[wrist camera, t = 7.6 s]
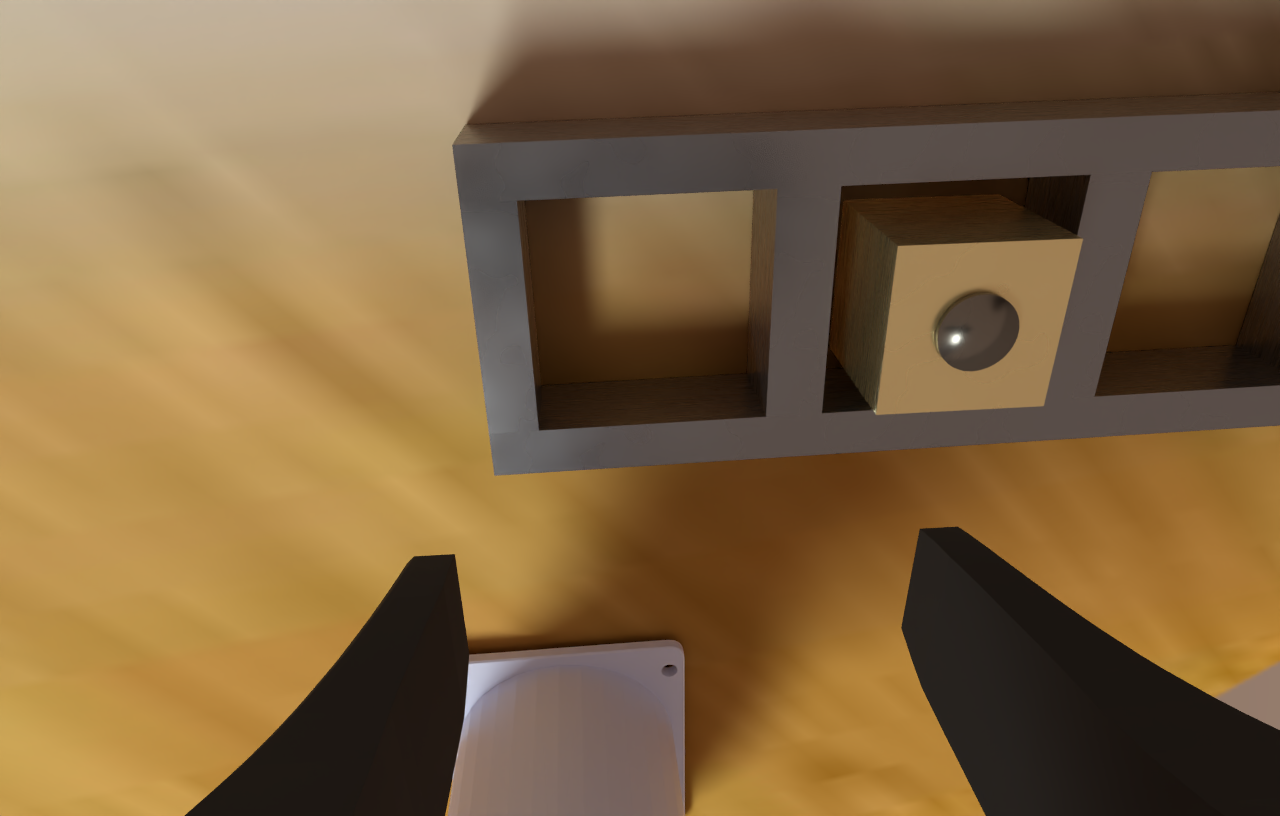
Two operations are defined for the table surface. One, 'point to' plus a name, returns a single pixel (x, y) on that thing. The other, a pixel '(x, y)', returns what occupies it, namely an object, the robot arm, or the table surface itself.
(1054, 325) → the drawer with knob
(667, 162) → the grey flat rectangular frame
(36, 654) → the table surface
